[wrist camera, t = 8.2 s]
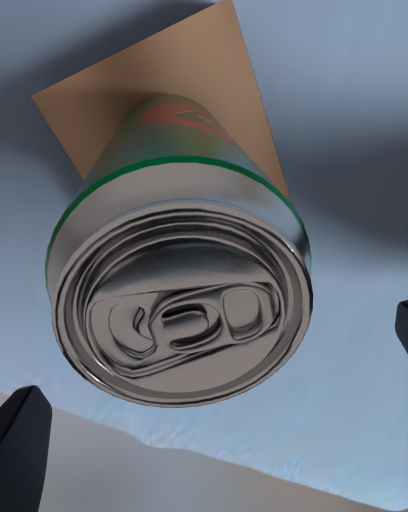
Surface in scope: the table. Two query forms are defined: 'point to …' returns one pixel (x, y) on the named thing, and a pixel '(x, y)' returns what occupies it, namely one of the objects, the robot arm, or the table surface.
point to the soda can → (178, 264)
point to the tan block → (166, 89)
